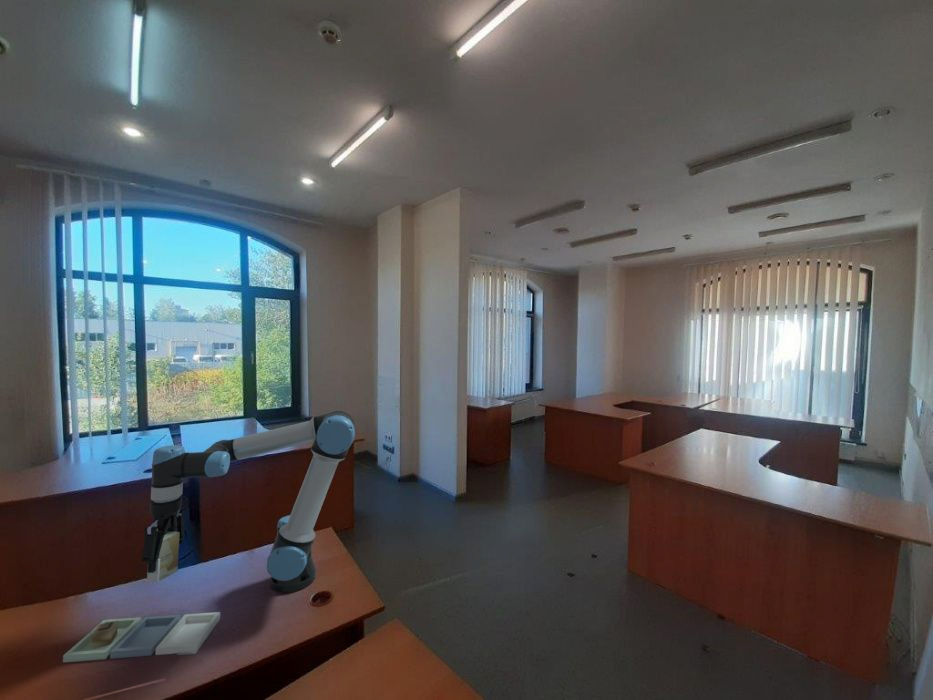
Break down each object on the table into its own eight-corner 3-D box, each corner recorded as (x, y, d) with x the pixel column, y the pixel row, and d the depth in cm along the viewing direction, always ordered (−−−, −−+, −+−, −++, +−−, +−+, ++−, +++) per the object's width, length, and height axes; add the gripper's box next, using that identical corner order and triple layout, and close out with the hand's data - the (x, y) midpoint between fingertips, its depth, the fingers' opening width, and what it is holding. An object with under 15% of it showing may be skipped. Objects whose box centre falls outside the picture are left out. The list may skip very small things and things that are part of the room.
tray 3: (220, 619, 115) (220, 612, 115) (195, 653, 102) (195, 645, 102) (184, 622, 113) (185, 614, 113) (155, 657, 100) (155, 648, 100)
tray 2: (181, 622, 113) (181, 614, 113) (151, 657, 100) (151, 648, 100) (144, 625, 112) (145, 617, 112) (109, 660, 99) (110, 651, 99)
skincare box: (157, 583, 108) (158, 541, 108) (146, 580, 109) (147, 539, 109) (179, 570, 115) (180, 531, 115) (168, 568, 116) (169, 529, 116)
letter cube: (117, 634, 107) (117, 620, 107) (110, 644, 103) (110, 630, 103) (99, 638, 105) (99, 624, 105) (91, 648, 102) (92, 634, 102)
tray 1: (141, 625, 111) (141, 617, 111) (105, 661, 99) (106, 652, 99) (103, 627, 110) (104, 619, 110) (62, 664, 97) (63, 655, 97)
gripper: (175, 486, 122) (172, 555, 122) (126, 512, 102) (122, 595, 102) (200, 486, 122) (196, 555, 122) (155, 512, 103) (151, 595, 102)
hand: (162, 573), depth 112 cm, fingers closed on skincare box, 7 cm apart
